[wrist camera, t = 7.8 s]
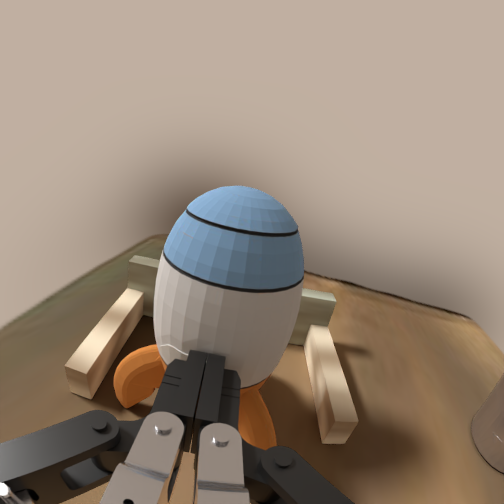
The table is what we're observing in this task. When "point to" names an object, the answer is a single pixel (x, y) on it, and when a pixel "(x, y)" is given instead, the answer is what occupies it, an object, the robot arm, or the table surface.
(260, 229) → the toy rocket
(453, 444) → the table surface
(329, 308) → the cradle
